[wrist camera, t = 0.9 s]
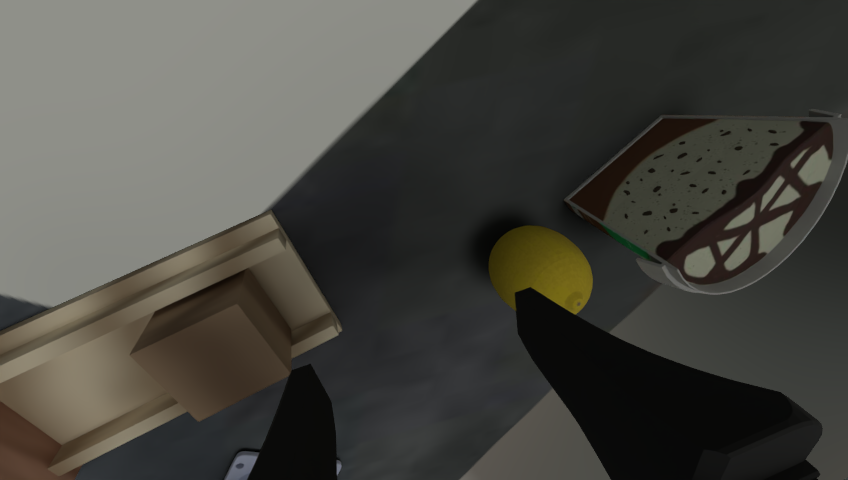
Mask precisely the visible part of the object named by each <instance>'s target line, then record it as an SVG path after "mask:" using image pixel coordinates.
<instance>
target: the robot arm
mask: <svg viewBox="0 0 848 480" xmlns="http://www.w3.org/2000/svg"><path fill="white" fill-rule="evenodd" d="M515 305H516V317H517V328H518V335H519V336H520V338H521V340H522V342H523V344H524V346H525V347H526V349H527V351H528V353H529V354H530V356H531V358H532V359H533V361H534V362H535V364H536V365H537V367H538V368H539V369H540V371H541V372H542V374H543V375H544V376H545V378H546V379H547V380H548V382H549V383H550V385H551V386H552V387H553V389H554V390H555V391H556V393H557V394H558V396H559V397H560V398H561V400H562V401H563V402H564V404H565V405H566V407H567V408H568V409H569V411H570V412H571V414H572V415H573V416H574V418H575V419H576V421H577V422H578V424H579V425H580V427H581V429H582V430H583V432H584V434H585V436H586V437H587V439H588V441H589V442H590V444H591V446H592V447H593V449H594V451H595V452H596V454H597V456H598V458H599V459H600V461H601V463H602V465H603V466H604V468H605V470H606V472H607V473H608V475H609V477H610V479H611V480H818V479H817V477H819V475H820V473H819V471H818V470H817V469H816V468H815V467H813V466H812V465H811V464H810V463H809V462H808V461H807V460H805V459H806V458H807V456H808V455H809V453H810V452H811V450H812V449H813V448H814V446H815V445H816V443H817V442H818V440H819V438H820V437H821V435H822V425H821V423H820V422H819V421H818V420H817V419H815V418H814V417H813V416H812V415H810V414H809V413H808V412H806V411H805V410H804V409H803V408H801V407H800V406H799V405H798V404H796V403H795V402H793V401H792V400H791V399H789V398H788V397H787V396H785V395H784V394H782V393H781V392H778V391H774V390H770V389H766V388H762V387H758V386H753V385H749V384H745V383H741V382H737V381H734V380H730V379H727V378H723V377H720V376H717V375H713V374H710V373H707V372H703V371H700V370H697V369H694V368H691V367H688V366H685V365H683V364H680V363H677V362H674V361H672V360H669V359H666V358H663V357H661V356H658V355H655V354H653V353H651V352H648V351H646V350H644V349H641V348H639V347H636V346H634V345H632V344H630V343H627V342H625V341H623V340H621V339H619V338H617V337H615V336H613V335H611V334H609V333H607V332H605V331H603V330H602V329H600V328H598V327H596V326H594V325H592V324H590V323H589V322H587V321H585V320H584V319H582V318H580V317H578V316H577V315H575V314H573V313H571V312H570V311H568V310H566V309H565V308H563V307H562V306H560V305H558V304H557V303H555V302H554V301H552V300H550V299H549V298H547V297H546V296H544V295H543V294H541V293H539V292H538V291H536V290H535V289H533V288H531V287H529V288H526V289H524V290H521V291H518V292H515ZM239 463H241V464H239ZM341 467H342V465H341V461H339V460H337V457H336V431H335V423H334V416H333V410H332V403H331V400H330V398H329V396H328V395H327V393H326V391H325V389H324V387H323V386H322V384H321V382H320V380H319V378H318V376H317V375H316V373H315V371H314V369H313V367H312V366H311V364H309V365H306V366H303V367H300V368H297V369H294V370H292V371H291V373H290V375H289V378H288V381H287V384H286V387H285V390H284V392H283V395H282V398H281V401H280V403H279V406H278V409H277V412H276V414H275V417H274V419H273V422H272V424H271V427H270V429H269V432H268V434H267V437H266V439H265V441H264V444H263V446H262V448H261V450H260V452H249V451H242V452H239V453H238V454H237V455H236V456H235V458H234V460H233V462H232V464H231V466H230V468H229V470H228V472H227V474H226V476H225V478H224V480H337V475H338V473H339V471H340V470H341ZM844 480H848V478H846V479H844Z"/></svg>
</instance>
